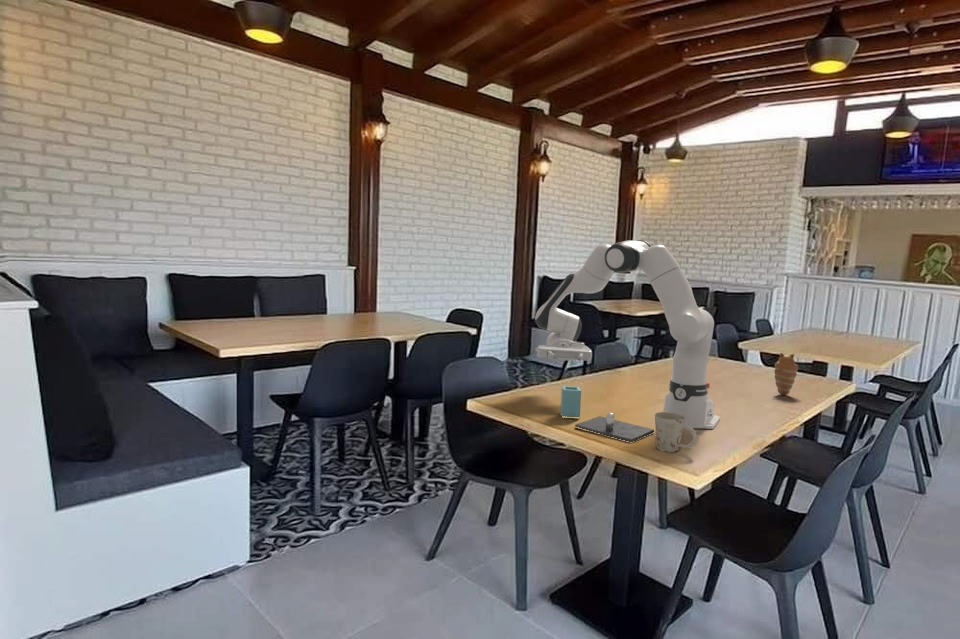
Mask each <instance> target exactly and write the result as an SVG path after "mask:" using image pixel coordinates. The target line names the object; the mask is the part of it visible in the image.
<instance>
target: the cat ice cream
mask: <svg viewBox="0 0 960 639" xmlns="http://www.w3.org/2000/svg"><path fill="white" fill-rule="evenodd" d="M794 357H795V354H794V353H792V354H783V353H782V352H780V353H779V358H778V361H776V362H775V364H774V380H775V386H776V387H777V392H778V394H779V395H782V396H787V395H789V394H790V393H791V390H792V388H793V385H794V384H795V378H796V377H797V371H798V370H799V365H798V364H797V363H796V362H795V359H794Z"/></svg>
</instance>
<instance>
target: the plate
mask: <svg viewBox="0 0 960 639" xmlns="http://www.w3.org/2000/svg"><path fill="white" fill-rule="evenodd" d="M574 427H579V428H582V429H586V430H589V431H593V432H596V433H600V434H603V435H606V436H610V437H614V438H617V439H621V440H625V441H629V442H633V441H635V442H637V441H636V440H638V439H640V438H642V437H644V436H646V437H648V436H647V435H649V434H651V433H653V432H654V433H655V429H654V428H649V427H645V426H641V425H637V424H633V423H629V422H626V421H625V422H624V421H621V420H617V419H615V414H614V413H613V412H608V413H607V414H606V417H604V416H597V417H593V418H591V419H588V420H584V421H582V422H579V423H576V424H575V425H574ZM654 433H653V434H654ZM651 435H652V434H651ZM606 436H605V437H606ZM649 436H650V435H649ZM610 437H609V438H610ZM644 438H645V437H644ZM617 439H616V440H617ZM642 439H643V438H642ZM621 440H620V441H621ZM640 440H641V439H640ZM625 441H624V442H625ZM638 441H639V440H638ZM633 443H634V442H633Z"/></svg>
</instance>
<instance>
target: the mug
mask: <svg viewBox="0 0 960 639" xmlns="http://www.w3.org/2000/svg"><path fill="white" fill-rule="evenodd" d="M684 421H685V417H684V416H682V415H680V414H676V413H670V412H663V411H659V412H656V413H655V414H654V423H655V438H656V439H655V440H656V441H655V442H656V448H658V450H659V449H660V450H659V451H661V450H663V451H662V452H665V451H669V452H668V453H676V452H675V451H677V452H678V451H679V449H680V448H681V449H691V448H692V447H694V446H695V445H696V444H697V441H698V435H697V432H696V430H694V429H695V428H692V427H690V426H687V425H684ZM683 430H687V431H689V432H690V434H691V435H692V436H691V437H692V439H691V442H690V443H688V444H687V445H686V444H682V443H681V438H682V434H683Z"/></svg>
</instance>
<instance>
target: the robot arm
mask: <svg viewBox="0 0 960 639" xmlns="http://www.w3.org/2000/svg"><path fill="white" fill-rule="evenodd" d="M640 270H641V271H642V272H643V273H644V274H645V276H646V277H647V279H648V280H649V283H650V285H651V287H652V288H653V291H654V292H655V294H656V297H657V298H658V299H659V302H660V305H661V307H662V309H663V310H662V311H663V312H664V316H665V319H666V321H667V324H668V327H669V332H670V335H671V336H672V338H673V339H674V340H675V341H676V342H677V343H676V347H675V351H674V355H673V357H672V365H671V366H672V368H671V369H672V371H671V380H669V386H668V387H669V388H668V389H669V392H668V393H666V395H665V397H664V402H663V403H664V404H663V409H662V412H670V413H676V414H680V415H682V416H684V417H685V421H684V425H687V426H690V427H692V428H693V429H709V430H711V429H712V430H713V429H714V428H715V427H717V426H716V425H718V423H719V422H720V421H721V416H718V415H717V414H714V408H715V405H714V401H713V400H712V399H711V398H710V396H709V395H708V394H709V393H708V391H709V389H710V386H711V384H710V382H707V374H708V373H707V372H708V361H709V356H710V351H711V346H712V340H713V334H714V333H713V332H714V328H715V320H714V318H713V316H712V314H711V313H710V312H708V311H707V310H706V309H702V308H699V306H698V305H697V302H696V299H695V297H694V293H693V289H692V286H691V284H690V283H689V280H688V279H687V277H686V275H685V274H684V271H683V270H682V268H681V266H680V264H679V263H678V261H677V259H676V258H675V256H674V255H673V254H672V252H671V251H670V250H669V249H668V248H667V247H666V246H665V245H662V244H654V245H652V244H651V243H649V242H648V241H645V240H642V239H635V240H624V241H620V242H619V241H618V242H615V243H613V244H609V243H600V244H598V245H597V246H596V247H595V248H594V250H592V251H591V253H590V254H589V256H588V257H587V259H586V261H585V262H584V265H583V266H582V267H581V268H580V269H579V270H577V271H576V272H574V273H569V274H568V275H567V276H566V277H564V278H563V280H562V281H561V282H560V284H559V285H558V286H557V287H556V289H555V290H554V291H553V292H552V294H550V295H549V297H548V299H546V301H545V302H543V304H542V305H541V306H540V307H539V308H538V310H537V312H536V313H535V317H534V322H535V323H536V325H537V327H538V328H539V329H542V330H545V331H548V332H551V333H549V334H548V336H547V337H546V344H538V346H536V347H534V350H535V351H536V352H537V353H536V356H537V357H538V358H539V359H540V358H542V359H551V360H555V361H558V362H567V361H571V360H574V361H578V362H581V361H586V362H587V361H588V362H589V361H592V356H593V354H592V349H591V348H590V347H588V346H587V345H585V342H583V341H582V342H581V341H577V340H578V339H579V337H580V335H581V333H582V329H583V328H582V327H583V324H582V321H581V318H580V316H578V315H576V314H574V313H572V312H569V311H566V310H564V309H561V308H558V306H559V305H560V303H561V302H562V301H563V300H564V299H565V298H566V296H568V295H570V294H596V293H598V292H599V293H600V292H601V291H603V290H604V288H606V286H607V284H608V283H609V281H610V280H611V278H612V277H613V274H614V273H628V272H630V273H633V272H636V271H640Z"/></svg>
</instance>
